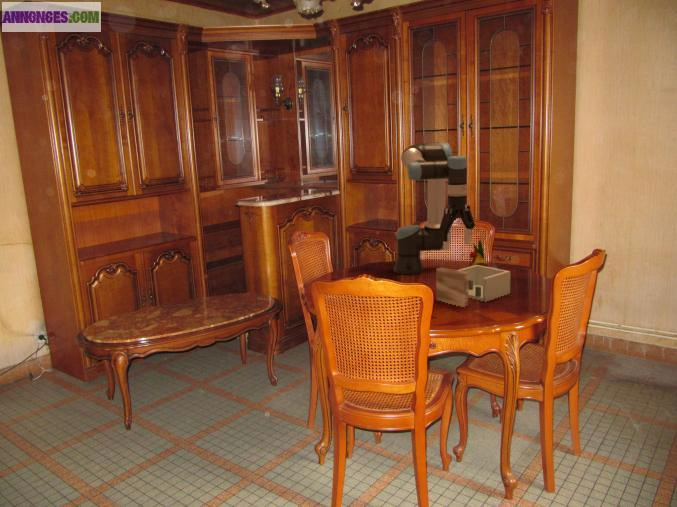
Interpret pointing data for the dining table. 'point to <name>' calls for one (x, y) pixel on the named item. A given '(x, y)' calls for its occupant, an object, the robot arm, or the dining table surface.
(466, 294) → the door
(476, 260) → the ornament
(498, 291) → the cabinet
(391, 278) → the dining table surface
